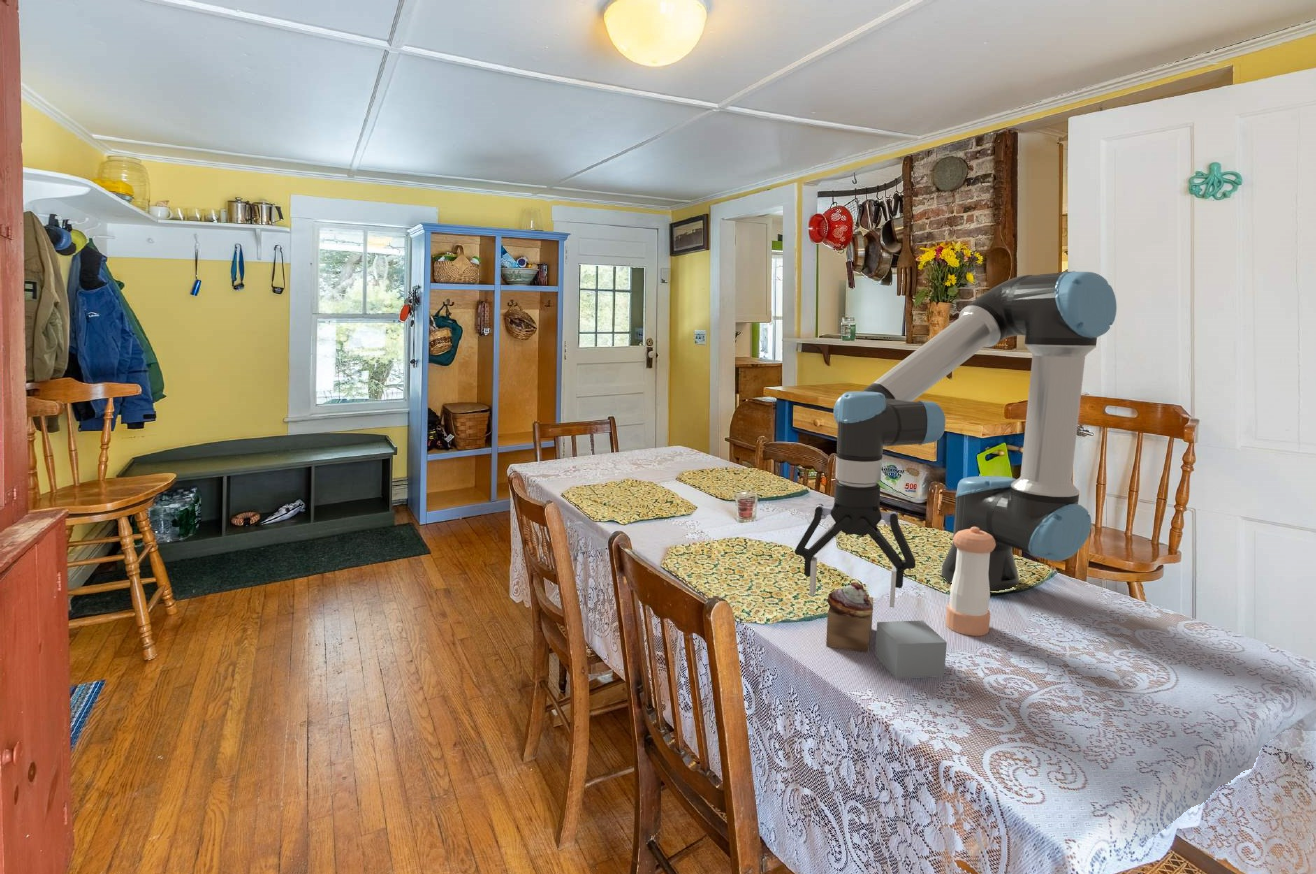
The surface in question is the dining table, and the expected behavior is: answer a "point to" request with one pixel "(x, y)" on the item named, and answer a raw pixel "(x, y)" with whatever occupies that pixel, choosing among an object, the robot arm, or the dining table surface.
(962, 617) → the pepper shaker
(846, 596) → the pastry
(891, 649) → the slate block
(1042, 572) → the dining table surface
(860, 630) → the walnut block
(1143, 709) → the dining table surface
